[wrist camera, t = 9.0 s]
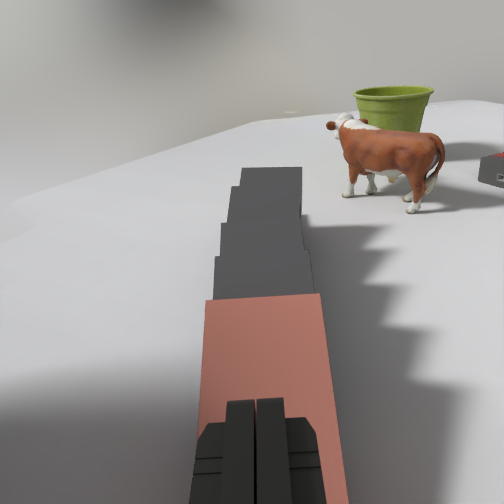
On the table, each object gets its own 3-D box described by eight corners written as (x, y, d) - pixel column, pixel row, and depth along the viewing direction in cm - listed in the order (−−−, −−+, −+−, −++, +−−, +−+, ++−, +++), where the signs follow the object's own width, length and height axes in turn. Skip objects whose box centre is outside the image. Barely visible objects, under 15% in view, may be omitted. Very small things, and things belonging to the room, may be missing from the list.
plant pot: (404, 148, 64) (408, 83, 60) (442, 163, 56) (450, 89, 52) (341, 156, 63) (341, 90, 59) (370, 174, 54) (373, 98, 51)
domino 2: (299, 300, 27) (299, 184, 33) (216, 300, 28) (231, 186, 34) (299, 317, 29) (299, 204, 35) (221, 317, 29) (234, 205, 35)
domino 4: (334, 445, 18) (308, 249, 24) (205, 451, 18) (214, 256, 24) (332, 461, 19) (308, 273, 26) (213, 466, 19) (220, 279, 26)
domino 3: (318, 361, 22) (300, 216, 29) (216, 367, 22) (221, 222, 29) (317, 380, 24) (300, 238, 30) (221, 385, 24) (225, 243, 30)
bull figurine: (344, 181, 53) (344, 108, 49) (448, 208, 43) (457, 119, 39) (316, 190, 51) (314, 115, 47) (419, 221, 41) (426, 128, 37)
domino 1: (300, 263, 31) (302, 166, 38) (228, 262, 32) (242, 167, 38) (300, 280, 33) (302, 185, 39) (231, 279, 33) (244, 185, 40)
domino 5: (358, 574, 13) (319, 293, 20) (188, 579, 14) (205, 300, 20) (353, 581, 15) (318, 317, 21) (200, 585, 15) (212, 324, 22)
